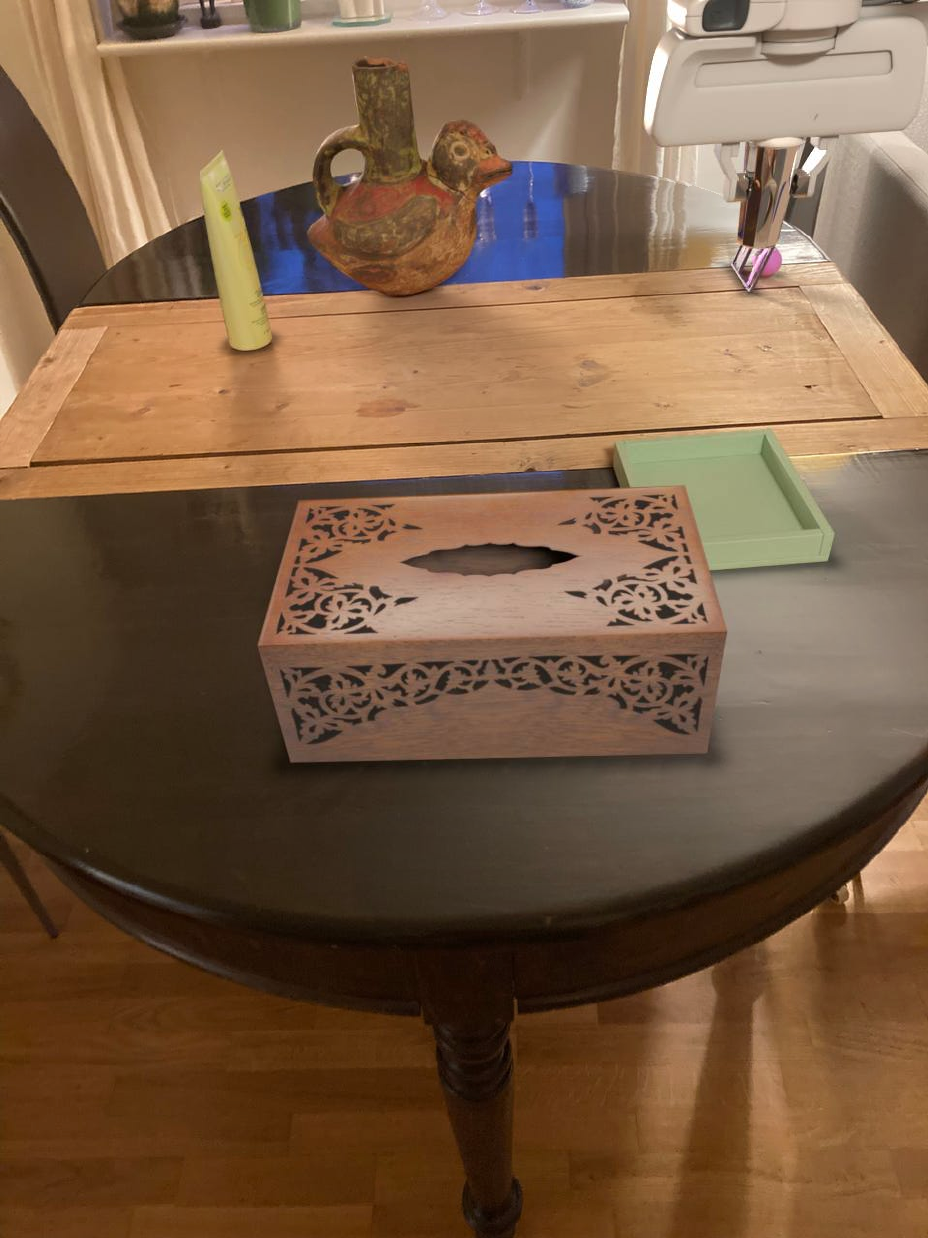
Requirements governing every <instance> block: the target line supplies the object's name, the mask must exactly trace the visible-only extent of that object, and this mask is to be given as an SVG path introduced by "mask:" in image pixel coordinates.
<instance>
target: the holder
mask: <svg viewBox="0 0 928 1238" xmlns="http://www.w3.org/2000/svg"><path fill="white" fill-rule="evenodd" d="M612 464H613V465H612V467H613V470H614V474H615V476H616V481H617V482H618V485H619V488H627V487H653V486H679V485H685V486H686V489H687V493H688V496H689V500H690V503H691V507H692V510H693V514H694V517H695V521H696V524H697V528H698V531H699V535H700V538H701V542H702V545H703V549H704V552H705V556H706V559H707V563H708V566H709V570H710V571H719V570H720V571H722V570H723V571H724V570H734V569H746V568H758V567H759V568H761V567H774V566H785V565H799V564H809V563H822V562H823V563H824V562H828V561H829V558H830V554H831V552H832V551H831V550H832V546H833V542H834V538H835V535H836V534H835V531H834V530H833V528H832V527H831V525H830V523H829V522H828V520H827V518H826V517H825V515H824V514H823V511H822V510H821V509H820V507H819V505H818V503H817V502H816V500H815V499H814V497H813V495H812V494H811V492H810V490H809V489H808V487H807V486H806V484H805V482H804V480H803V479H802V477H801V476H800V473H799V472H798V471H797V469H796V467H795V465H794V464H793V462H792V460H791V459H790V457H789V456H788V454H787V452H786V450H785V449H784V447H783V446H782V444H781V442H780V440H779V439H778V437H777V436H776V434H775V432H774V431H773V429H772V428H764V429H761V428H760V429H747V430H736V431H735V430H734V431H721V432H711V433H710V432H709V433H699V434H697V433H696V434H687V435H686V434H685V435H673V436H661V437H649V438H648V437H647V438H635V439H624V440H623V439H622V440H614V443H613V463H612Z"/></svg>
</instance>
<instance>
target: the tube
mask: <svg viewBox="0 0 928 1238" xmlns="http://www.w3.org/2000/svg"><path fill="white" fill-rule="evenodd" d="M199 188H200V196H201V204H202V209H203V216H204V223H205V228H206V234H207V239H208V246H209V250H210V257H211V263H212V268H213V272H214V278H215V282H216V287H217V293H218V299H219V302H220V303H219V304H220V308H221V312H222V317H223V321H224V326H225V331H226V335H227V340H228V343H229V346H230V347H231V348H232V349H234V350H237V351H243V352H244V351H245V352H246V351H247V352H248V351H256V350H258V349H262V348H265V347H266V346H267V345H269V344H270V343H271V342H272V339H273V335H272V330H271V324H270V322H269V321H270V320H269V315H268V311H267V307H266V303H265V299H264V294H263V293H264V292H263V290H262V285H261V281H260V278H259V277H260V276H259V272H258V268H257V264H256V260H255V256H254V252H253V248H252V244H251V240H250V236H249V233H248V229H247V224H246V221H245V218H244V214H243V211H242V207H241V203H240V200H239V196H238V192H237V188H236V186H235V182H234V178H233V175H232V173H231V170H230V167H229V164H228V161H227V159H226V155H225V152H224V150H223V149H221V151H220V152H219V153H218V154H216V156H215V157H214V158H213V159H212V160H211V161H210V162H209V163H208V164H207V165H206V166H205V167H204V168H202V170H200V171H199Z"/></svg>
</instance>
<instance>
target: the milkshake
mask: <svg viewBox="0 0 928 1238" xmlns="http://www.w3.org/2000/svg"><path fill="white" fill-rule="evenodd" d="M818 115H819V114H817V116H818ZM817 116H816V117H815V119H816V118H817ZM815 119H814V120H815ZM807 139H808V137H805V138H792V137H785V138H777V139H771V140H762V141H748V142H744V157H743V158H744V159H743V160H744V161H743V171H742V173H743V174H744V175H745V177H747V178H748V179H749V184H748V189H747V190H746V193H747V198H746V201H741V202H740V206H739V217H738V227H737V237H736V238H737V240H736V241H737V243H738V245H740V244H741V245H742V246H744V247H748V248H752V250H754V249H755V250H757V249H767V248H771V247H776V246H777V244H778V242H779V240H780V235H781V233H782V232H781V231H782V228H783V224H784V220H785V217H786V212H787V208H788V204H789V202H790V198H791V195H790V194H791V190H792V186H793V183H794V179H795V176H796V173H797V170H798V169H799V166H800V163H801V159H802V155H803V152H804V149H805V146H806V142H807ZM778 239H779V240H778Z"/></svg>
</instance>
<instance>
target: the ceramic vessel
mask: <svg viewBox="0 0 928 1238" xmlns="http://www.w3.org/2000/svg"><path fill="white" fill-rule="evenodd" d="M350 67H351V76H352V81H353V92H354V99H355V105H356V110H357V117H358V124H356V125H349V126H345V127H341V128H339V129H337V130H335V131H334V132H332V133H330V135H328V136H326V137H325V139H324V141H323V142H322V143H321V145H320V146H319V147H318V149H317V152H316V154H315V156H314V160H313V167H312V183H313V184H312V185H313V186H312V187H313V190H314V195H315V197H316V200H317V203H318V206H319V207H320V208H321V210H322V211H323V215H322V216H321V217H320V218H319V219H317V220H316V221H314V223H312V224H311V225H310V227H309V228H308V230H307V232H306V235H307V238H308V241H309V242H310V243H311V245H312V247H314V248H315V250H316V251H317V252H318V253H319V254H320V255H321V256H322V257H323V258H324V259H325V260H326V261H328V262H329V263H330V264H331V265H332V266H333V267H334V268H336V269H337V270H338V271H339V272H340V273H342V274H343V275H345V276H347V277H348V278H350V279H351V280H353V281H355V282H356V283H358V284H360V285H361V286H363V287H366V288H367V289H370V290H371V291H376V292H378V293H382V294H387V295H390V296H391V295H392V296H409V295H414V294H418V293H420V292H424V291H428V290H429V289H432V288H435V287H437V286H438V285H439V286H440V284H443V283H444V282H445V281H447V280H448V279H449V278H451V277H452V276H453V275H454V274H455V273H457V271H459V270H460V269H461V267H462V266H463V265H464V264H465V262H466V261H467V260H468V258H469V257H470V256H471V253H472V251H473V248H474V246H475V243H476V239H477V234H478V209H477V203H478V199H479V197H480V194H481V193H482V192H484V191H485V190H487V189H488V188H490V187H492V186H495V185H497V184H499V183H500V182H502V181H504V180H507V179H508V178H509V177H510V176H512V175H513V173H514V170H513V169H514V164H513V162H512V161H510V160H507V159H505V158H502V157H501V156H500V155H499V153H498V151H497V148H496V146H495V144H493V142H491V140H490V139H488V137H487V136H486V134H485V133H484V132H483V131H482V130H481V128H480V127H479V126H478V125H477V124H476V123H473V122H471V121H469V120H466V119H453V120H449V121H446V122H444V124H442V126H441V127H440V130H439V131H438V133H437V135H436V137H435V139H434V140H433V142H432V145H431V149H430V152H429V155H428V158H427V159H423V158H421V156H420V152H419V147H418V140H417V134H416V126H415V117H414V108H413V100H412V90H411V78H410V71H409V67H408V64H407V61H404V60H402V59H401V60H400V61H398V62H395V61H394V60H392V59H390V58H388V57H379V58H370V57H369V56H367V55H362V56H360V57H358V58H356V59H355V60H353V62H352V63H351V65H350ZM349 149H353V150H356V151H358V152H361V155H362V157H363V159H364V165H363V168H364V169H363V172H362V174H361V175H360V176H359V177H357V178H356V179H354V180H352V181H350V182H348V183H345V184H341V183H338V182H336V181H335V179H334V177H333V175H332V171H331V168H332V163H333V159H334V158H335V157H336V156H337V155H338V154H339V153H341V152H343V151H345V150H349Z"/></svg>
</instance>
